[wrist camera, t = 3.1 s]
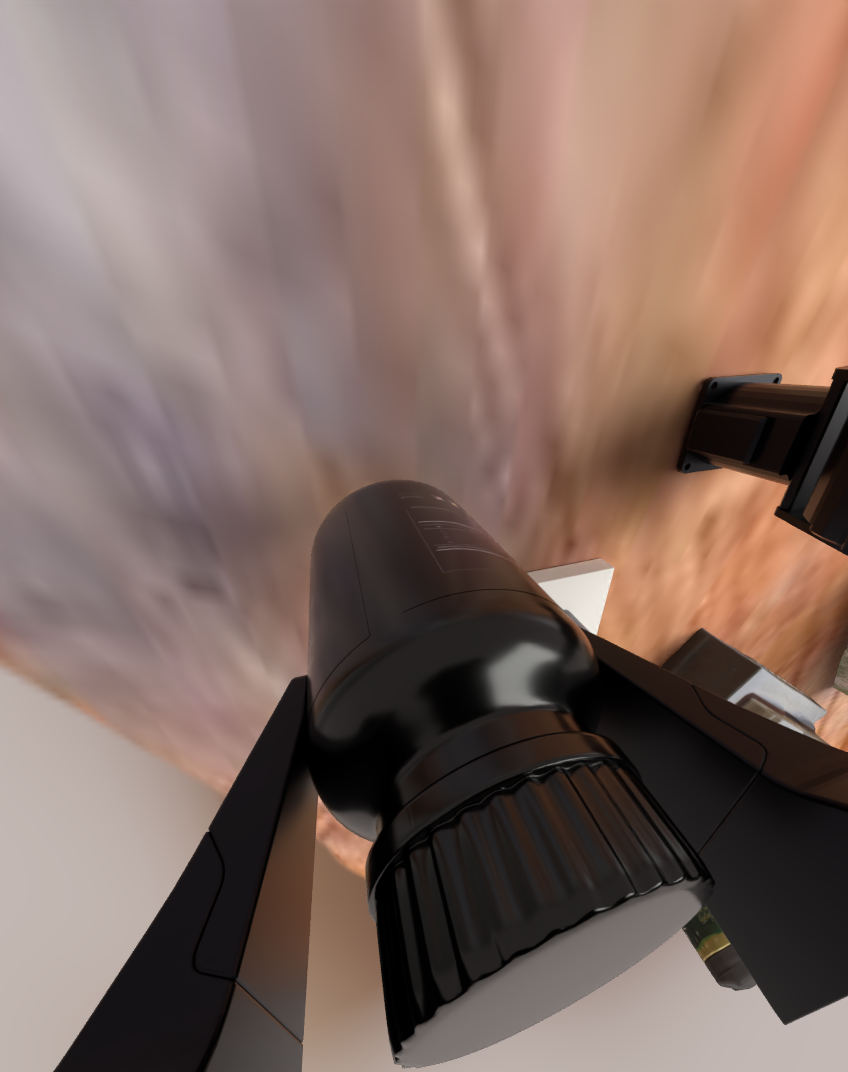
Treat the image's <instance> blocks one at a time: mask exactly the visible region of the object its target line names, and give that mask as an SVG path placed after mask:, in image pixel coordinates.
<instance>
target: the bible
mask: <svg viewBox="0 0 848 1072" xmlns="http://www.w3.org/2000/svg"><path fill="white" fill-rule="evenodd" d="M661 668H663V669H665V670H667V671H669V672H671V673H673V674H675V675H677V676H679V677H681V678H683V679H685V680H687V681H689V682H690V683H691V684H695V685H697V686H699V687H701V688H703V689H705V690H707V691H709V692H711V693H713V694H715V695H717V696H719V697H721V698H723V699H726V700H728V701H730V702H732V703H734V704H736V705H738V706H740V707H743V708H745V709H747V710H749V711H752V712H754V713H756V714H758V715H760V716H763V717H765V718H767V719H770V720H772V721H774V722H776V723H779V724H781V725H783V726H786V727H788V728H790V729H793V730H795V731H797V732H799V733H802V734H804V735H806V736H809V737H811V738H813V739H816V740H818V741H820V742H822V743H825V744H827V745H829V744H828V743H826V742H825V741H824V740H823V739H821V738H820V737H819V736H818V735H817V734H816V733H815V727H814V725H813V724H814V723H815V722H816V721H817V720H819V719H821V718H822V717H823V716H824V715H825V714H826V713H827V711H826V710H825V709H823V708H822V707H821V706H820V705H819V704H817V703H816V702H815V701H814V700H813V699H812V698H810V697H809V696H807V695H806V694H804V693H802V692H801V691H800V690H798V689H797V688H796V687H794V686H793V685H791V684H790V683H788V682H787V681H785V680H784V679H783V678H781V677H779V676H778V675H776V674H774V673H773V672H772V671H770V670H769V669H767V668H766V667H765V666H763V665H761V664H760V663H758V662H757V661H755V660H754V659H752V658H750V657H748V656H746V655H745V654H743V653H741V652H740V651H738V650H737V649H735V648H733V647H731V646H730V645H728V644H726V643H725V642H723V641H721V640H720V639H718V638H716V637H715V636H713V635H712V634H710V633H709V632H708V631H706V630H705V629H703V628H701V629H700V630H699V631H697V632H696V633H695V634H694V635H693V636H692V637H691V638H690V639H689V640H688V641H687V642H686V643H685V644H684V645H683V646H682V647H681V648H680V649H679V650H678V651H677V652H676V653H675V654H674V655H673V656H672V657H671V658H670V659H669V660H668V661H667V662H666V663H665V664H664V665H663V666H662V667H661Z"/></svg>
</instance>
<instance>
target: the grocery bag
mask: <svg viewBox="0 0 848 1072" xmlns="http://www.w3.org/2000/svg"><path fill="white" fill-rule="evenodd" d="M833 687H834V688H836V689H837V690H839V691H841V692H843V693H844V694H846V695H848V646H847V648H846V650H845V652H844V654H843V656H842V658H841V660H840V664H839V667H838V671H837V674H836V678H835V682H834V685H833Z"/></svg>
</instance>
